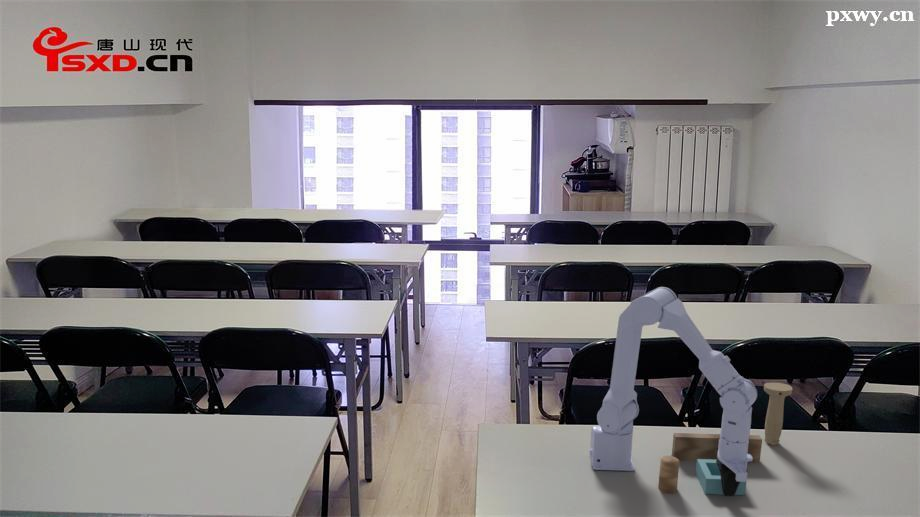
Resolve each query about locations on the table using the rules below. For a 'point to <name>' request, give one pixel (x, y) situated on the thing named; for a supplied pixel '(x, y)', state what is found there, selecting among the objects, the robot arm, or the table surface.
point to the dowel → (668, 474)
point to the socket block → (713, 478)
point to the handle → (775, 411)
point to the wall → (708, 446)
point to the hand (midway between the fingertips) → (728, 494)
